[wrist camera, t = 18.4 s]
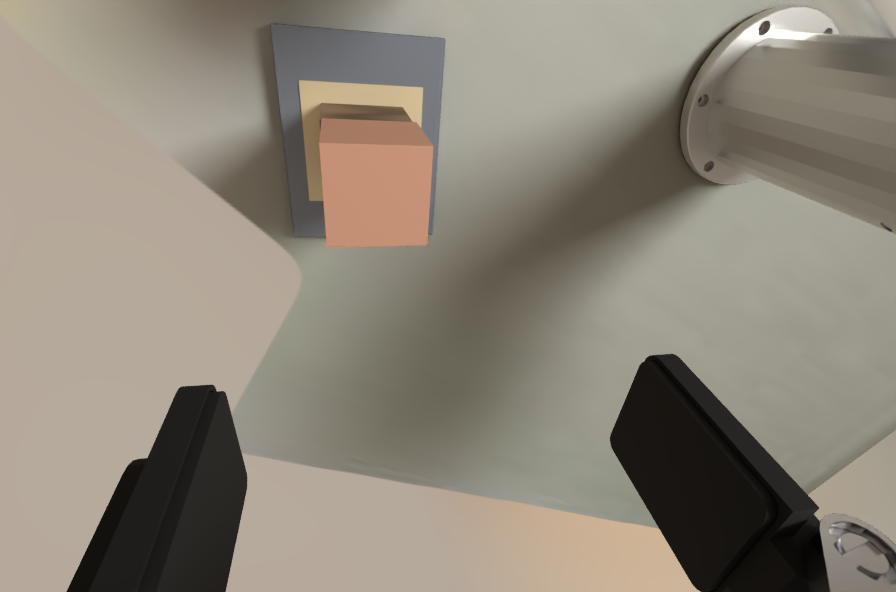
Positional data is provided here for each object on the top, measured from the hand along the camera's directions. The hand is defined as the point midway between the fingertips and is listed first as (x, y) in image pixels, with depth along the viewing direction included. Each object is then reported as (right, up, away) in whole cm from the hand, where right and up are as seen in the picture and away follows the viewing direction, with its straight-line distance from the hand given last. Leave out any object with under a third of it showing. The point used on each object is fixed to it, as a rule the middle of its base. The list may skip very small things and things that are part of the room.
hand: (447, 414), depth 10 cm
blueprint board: (-6, +13, +20) cm, 25 cm away
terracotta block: (-4, +10, +15) cm, 18 cm away
